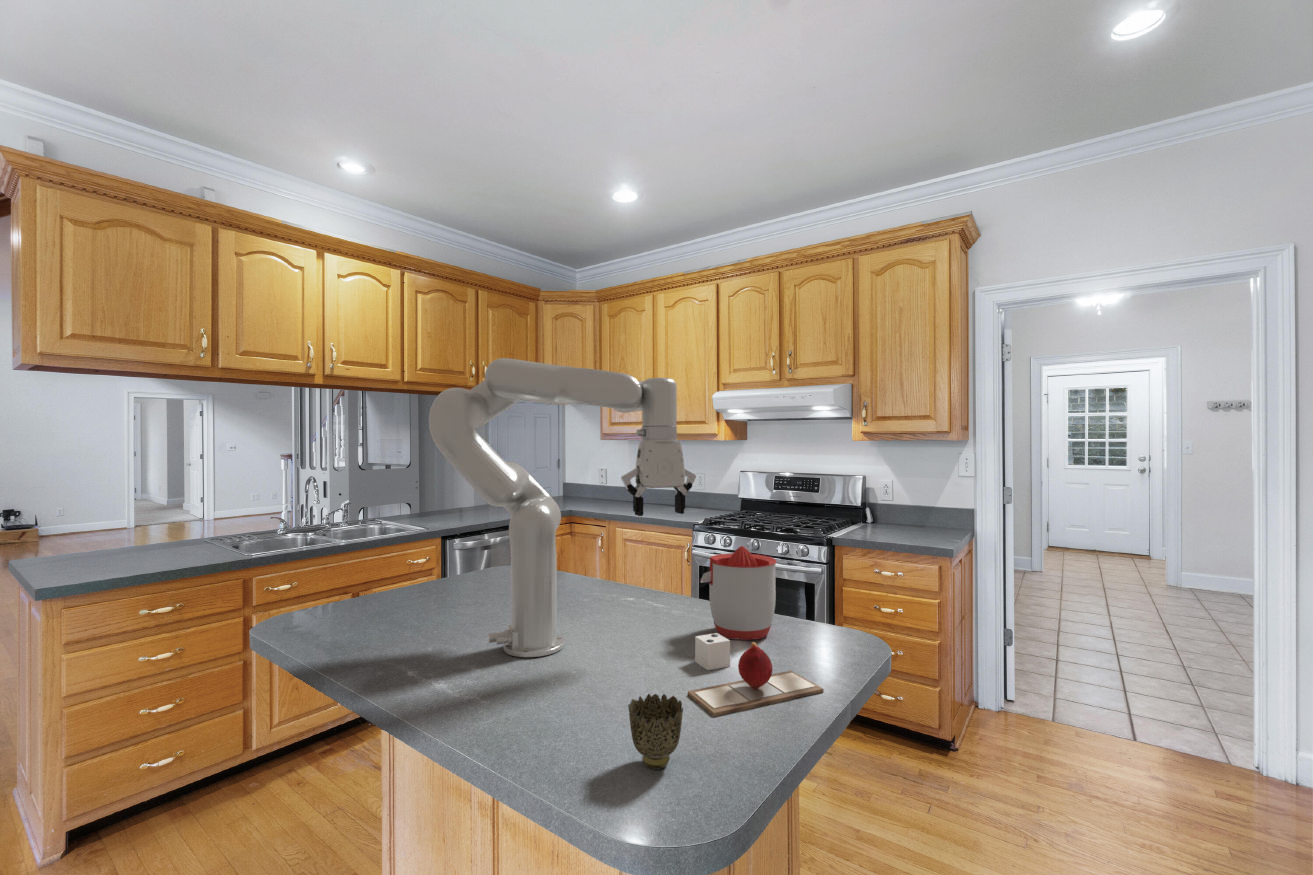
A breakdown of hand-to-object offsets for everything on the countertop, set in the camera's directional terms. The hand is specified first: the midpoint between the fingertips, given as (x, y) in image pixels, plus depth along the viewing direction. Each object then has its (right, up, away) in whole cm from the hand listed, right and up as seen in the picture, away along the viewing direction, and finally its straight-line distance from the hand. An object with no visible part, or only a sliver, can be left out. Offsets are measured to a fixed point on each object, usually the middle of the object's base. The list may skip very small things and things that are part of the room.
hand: (659, 514), depth 125 cm
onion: (+16, -27, -25) cm, 40 cm away
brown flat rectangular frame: (+17, -28, -25) cm, 41 cm away
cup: (-1, -28, -47) cm, 55 cm away
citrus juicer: (+18, -29, +8) cm, 35 cm away
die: (+10, -28, -11) cm, 32 cm away
